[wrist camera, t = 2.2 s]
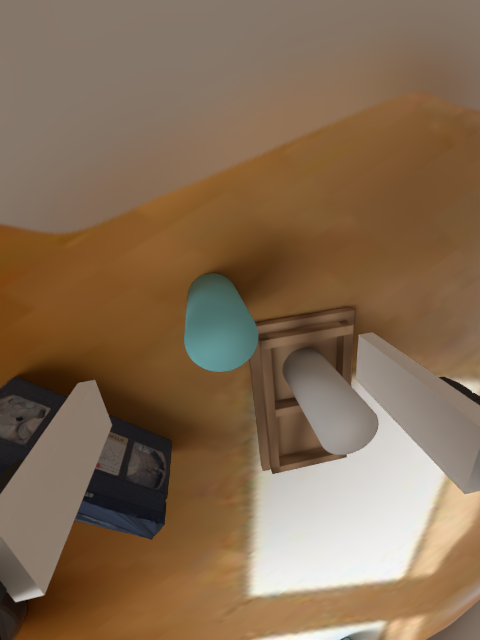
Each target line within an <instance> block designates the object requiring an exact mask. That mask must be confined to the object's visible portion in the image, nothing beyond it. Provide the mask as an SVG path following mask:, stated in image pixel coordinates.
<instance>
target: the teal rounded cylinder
mask: <svg viewBox="0 0 480 640" xmlns="http://www.w3.org/2000/svg"><path fill="white" fill-rule="evenodd" d="M184 343H185V348H186V351H187V353H188V355H189V357H190V358H191V359H192V360H193V362H195V363H196V364H197V365H198V366H200V367H202V368H204V369H206V370H209V371H215V372H224V371H230V370H233V369H236V368H238V367H240V366H241V365H243V364H244V363H245V362H247V361H248V360H249V359H250V357H251V356H252V355H253V353H254V351H255V349H256V347H257V343H258V330H257V326H256V324H255V322H254V320H253V318H252V316H251V315H250V313H249V311H248V309H247V307H246V306H245V304H244V302H243V300H242V299H241V297H240V295H239V293H238V291H237V290H236V288H235V286H234V284H233V283H232V282H231V281H230V280H229V279H228V278H227V277H225V276H223V275H221V274H217V273H209V274H205V275H202V276H200V277H198V278H197V279H196V280H195V281H194V282H193V283H192V285H191V286H190V288H189V291H188V299H187V311H186V323H185V335H184Z"/></svg>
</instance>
